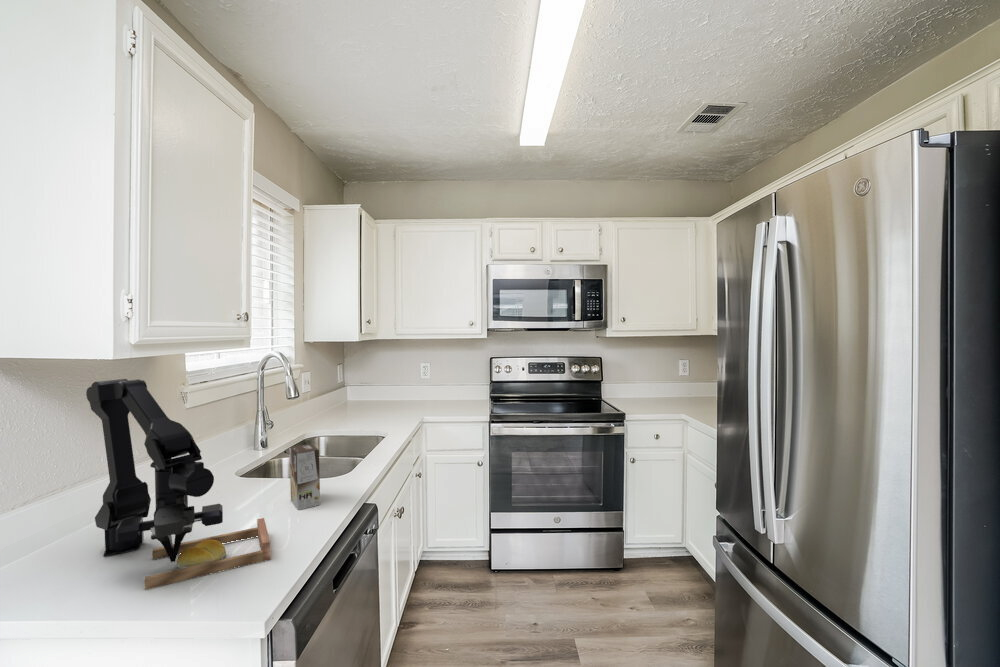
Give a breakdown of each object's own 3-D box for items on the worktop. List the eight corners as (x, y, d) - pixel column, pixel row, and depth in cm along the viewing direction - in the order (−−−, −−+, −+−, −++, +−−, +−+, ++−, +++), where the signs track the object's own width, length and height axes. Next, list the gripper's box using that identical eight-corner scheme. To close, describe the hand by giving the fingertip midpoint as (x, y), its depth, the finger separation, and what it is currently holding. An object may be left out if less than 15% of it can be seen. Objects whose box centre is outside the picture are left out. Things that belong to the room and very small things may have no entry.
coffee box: (321, 505, 138) (320, 449, 138) (297, 510, 134) (296, 453, 134) (312, 495, 145) (310, 443, 145) (289, 500, 142) (288, 446, 141)
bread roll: (169, 567, 104) (168, 549, 104) (209, 549, 112) (209, 532, 112) (193, 576, 100) (193, 557, 100) (233, 556, 108) (232, 539, 108)
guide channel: (144, 589, 95) (144, 569, 95) (153, 557, 108) (152, 539, 108) (270, 559, 107) (270, 541, 106) (264, 533, 120) (264, 517, 120)
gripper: (108, 510, 92) (110, 591, 92) (221, 492, 101) (223, 566, 101) (119, 492, 101) (121, 566, 102) (221, 477, 111) (223, 545, 111)
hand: (173, 561), depth 104 cm, fingers closed
